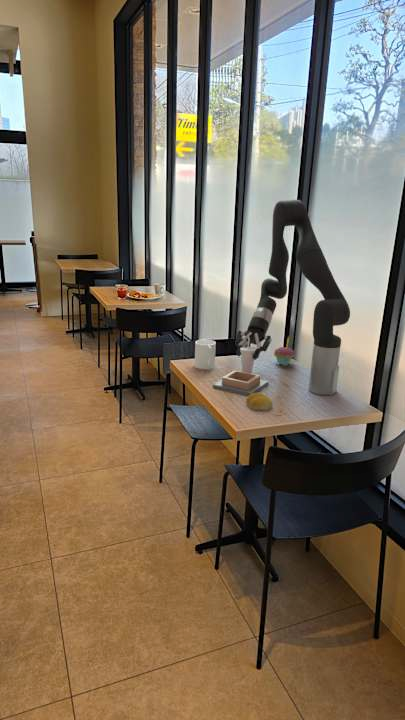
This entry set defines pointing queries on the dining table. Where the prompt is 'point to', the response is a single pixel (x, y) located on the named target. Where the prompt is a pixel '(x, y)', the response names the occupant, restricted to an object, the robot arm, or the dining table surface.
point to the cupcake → (284, 354)
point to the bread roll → (259, 402)
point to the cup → (205, 354)
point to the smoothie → (247, 358)
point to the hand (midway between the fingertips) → (246, 356)
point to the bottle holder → (241, 383)
